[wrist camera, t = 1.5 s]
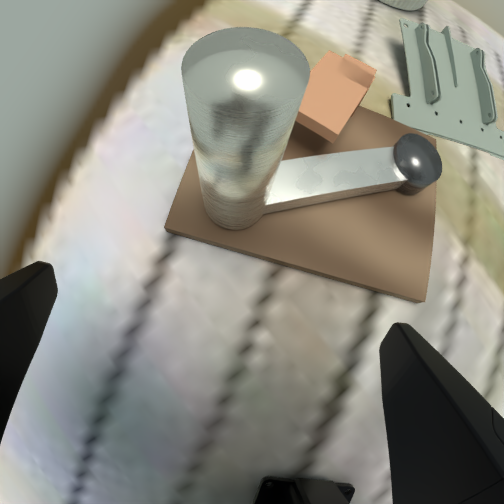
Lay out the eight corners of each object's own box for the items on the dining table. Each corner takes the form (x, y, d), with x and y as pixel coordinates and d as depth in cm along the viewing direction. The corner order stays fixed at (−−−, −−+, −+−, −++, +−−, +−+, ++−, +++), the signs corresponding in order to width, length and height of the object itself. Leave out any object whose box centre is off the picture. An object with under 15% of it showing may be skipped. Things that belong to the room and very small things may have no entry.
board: (416, 303, 19) (425, 302, 18) (167, 231, 19) (164, 227, 18) (430, 145, 22) (436, 139, 21) (229, 76, 22) (229, 68, 21)
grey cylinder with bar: (414, 146, 20) (502, 56, 10) (432, 191, 20) (538, 114, 9) (198, 179, 19) (175, 36, 8) (210, 236, 18) (191, 123, 7)
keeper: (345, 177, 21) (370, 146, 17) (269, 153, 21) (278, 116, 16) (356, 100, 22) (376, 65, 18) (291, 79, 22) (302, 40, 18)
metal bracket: (387, -5, 19) (501, 47, 20) (365, 25, 25) (473, 64, 26) (404, 133, 21) (522, 170, 22) (373, 149, 26) (486, 175, 27)
